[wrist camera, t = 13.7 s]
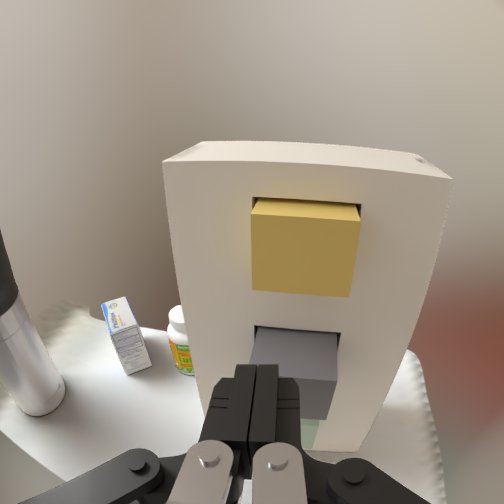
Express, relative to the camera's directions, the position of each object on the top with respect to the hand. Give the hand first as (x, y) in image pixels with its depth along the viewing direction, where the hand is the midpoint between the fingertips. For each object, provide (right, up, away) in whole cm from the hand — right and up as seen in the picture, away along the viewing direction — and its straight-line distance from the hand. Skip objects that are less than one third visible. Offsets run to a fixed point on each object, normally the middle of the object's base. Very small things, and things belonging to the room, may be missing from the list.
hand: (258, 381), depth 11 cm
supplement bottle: (-9, -12, +35) cm, 38 cm away
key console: (+4, -17, +25) cm, 30 cm away
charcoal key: (+3, -6, +14) cm, 15 cm away
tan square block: (+3, +4, +11) cm, 12 cm away
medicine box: (-19, -12, +35) cm, 42 cm away
